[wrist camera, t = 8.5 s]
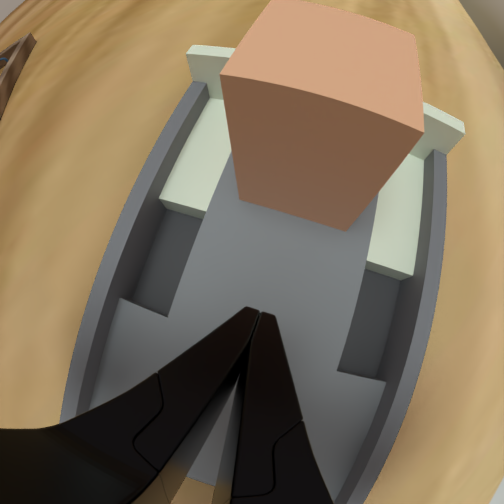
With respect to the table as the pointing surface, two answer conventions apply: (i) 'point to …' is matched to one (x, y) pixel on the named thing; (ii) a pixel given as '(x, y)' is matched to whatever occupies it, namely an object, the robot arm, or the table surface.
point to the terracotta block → (320, 110)
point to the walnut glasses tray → (13, 66)
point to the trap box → (271, 286)
